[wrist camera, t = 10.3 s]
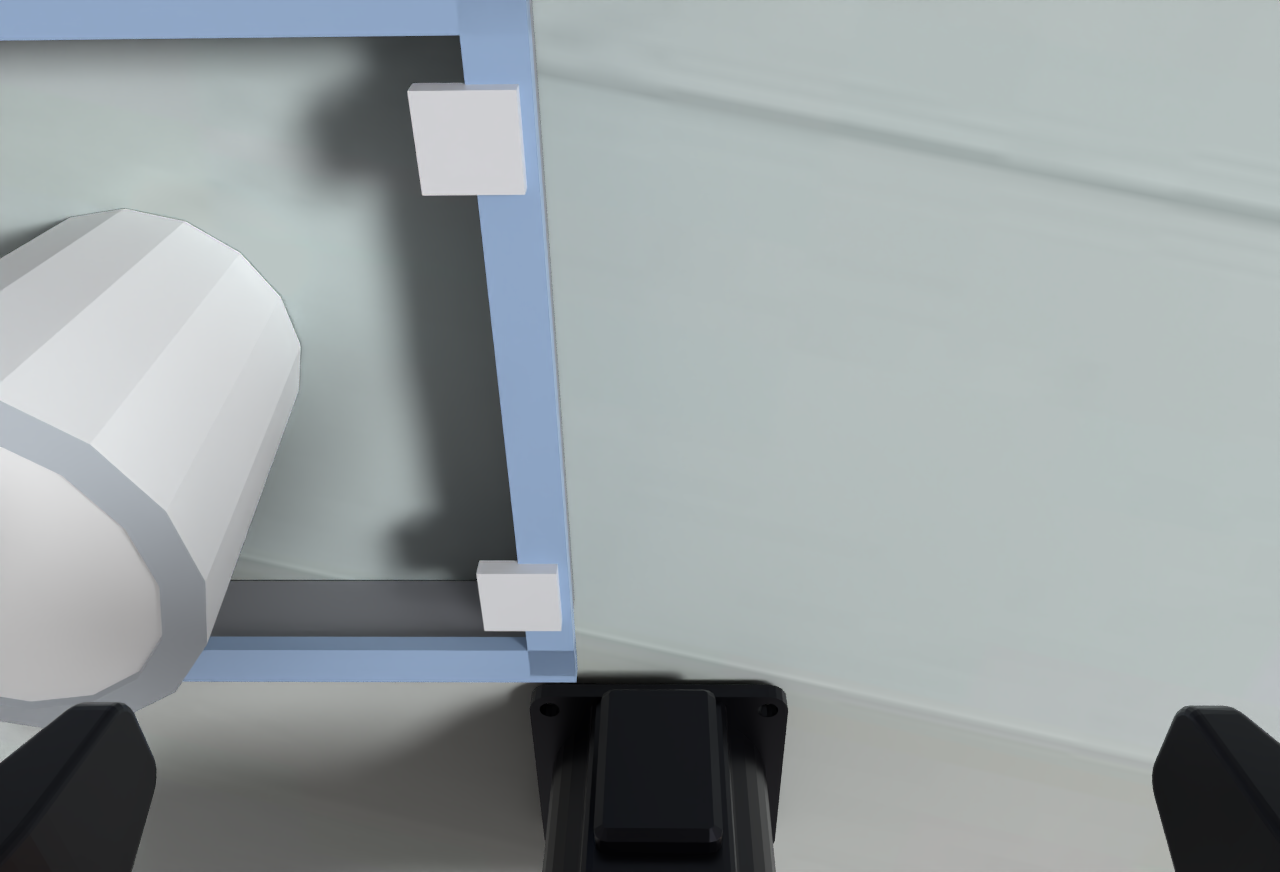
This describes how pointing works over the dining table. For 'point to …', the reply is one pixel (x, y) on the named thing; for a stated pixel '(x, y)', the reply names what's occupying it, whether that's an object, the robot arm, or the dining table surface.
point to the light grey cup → (128, 452)
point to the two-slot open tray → (523, 343)
